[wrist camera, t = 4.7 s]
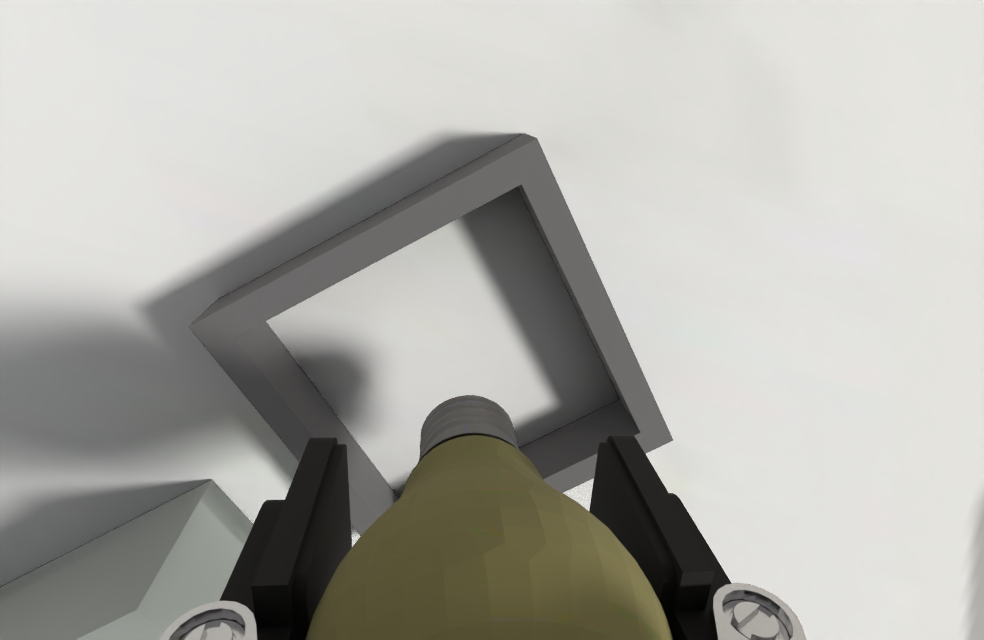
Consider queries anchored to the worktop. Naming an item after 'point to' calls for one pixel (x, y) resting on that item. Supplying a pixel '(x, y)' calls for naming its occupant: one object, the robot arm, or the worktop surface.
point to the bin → (132, 574)
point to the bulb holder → (518, 163)
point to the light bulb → (485, 552)
